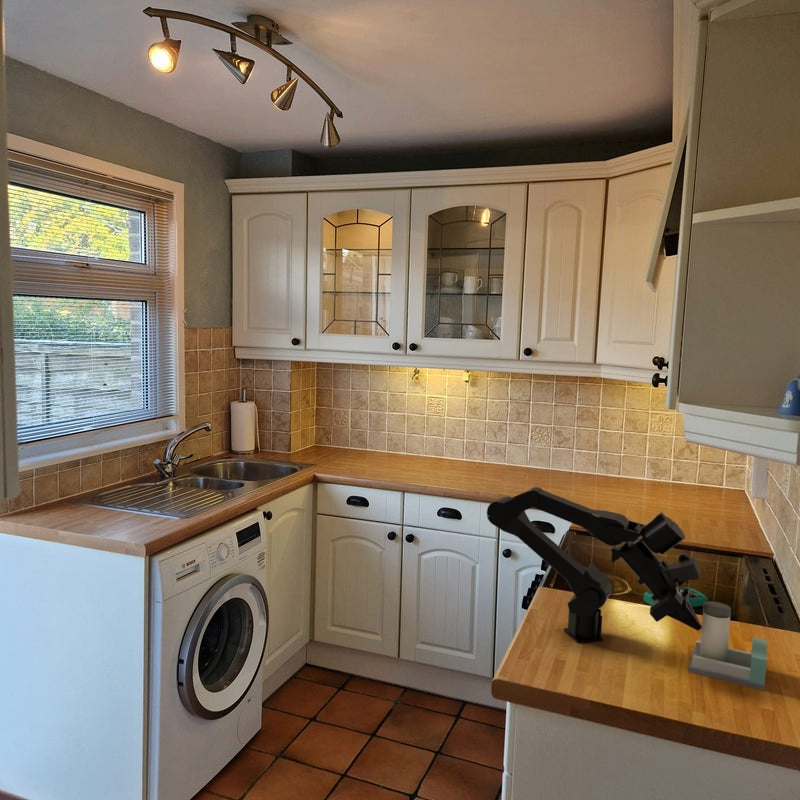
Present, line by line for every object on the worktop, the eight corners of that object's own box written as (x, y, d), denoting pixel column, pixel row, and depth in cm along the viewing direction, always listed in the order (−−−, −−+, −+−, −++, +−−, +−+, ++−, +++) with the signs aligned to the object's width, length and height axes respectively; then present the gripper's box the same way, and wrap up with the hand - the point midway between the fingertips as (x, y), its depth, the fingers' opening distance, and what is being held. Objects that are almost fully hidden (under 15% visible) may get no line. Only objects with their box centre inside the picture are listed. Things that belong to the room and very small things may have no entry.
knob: (698, 662, 135) (702, 607, 134) (700, 652, 140) (704, 599, 139) (725, 669, 133) (730, 613, 132) (727, 658, 137) (731, 604, 136)
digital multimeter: (709, 607, 169) (710, 595, 169) (662, 613, 164) (663, 601, 164) (688, 596, 176) (688, 585, 176) (641, 602, 171) (642, 590, 171)
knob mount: (688, 671, 134) (690, 642, 133) (693, 652, 143) (695, 624, 142) (764, 690, 128) (766, 660, 127) (764, 668, 136) (766, 640, 136)
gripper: (671, 556, 130) (730, 624, 126) (682, 533, 146) (735, 592, 142) (626, 588, 134) (682, 654, 130) (642, 562, 151) (692, 620, 146)
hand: (699, 628), depth 137 cm, fingers closed
